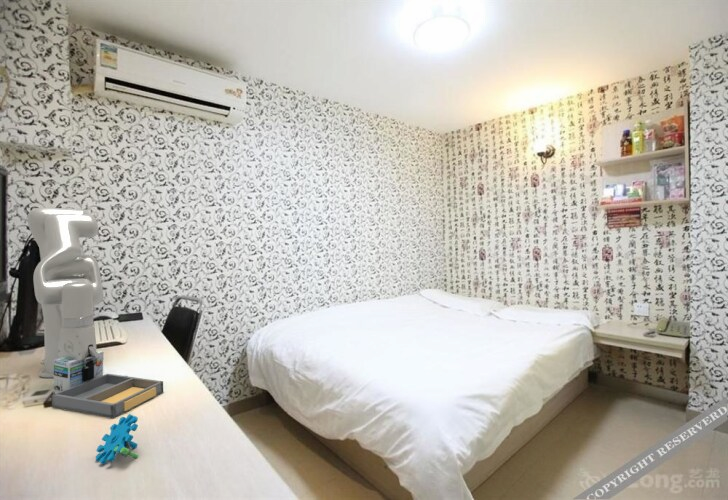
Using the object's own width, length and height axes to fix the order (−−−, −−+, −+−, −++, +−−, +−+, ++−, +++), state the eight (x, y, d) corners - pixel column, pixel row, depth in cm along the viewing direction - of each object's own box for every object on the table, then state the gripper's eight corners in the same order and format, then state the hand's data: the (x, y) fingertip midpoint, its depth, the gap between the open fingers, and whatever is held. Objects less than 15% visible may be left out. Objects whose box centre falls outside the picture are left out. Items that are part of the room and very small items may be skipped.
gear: (90, 444, 77) (128, 404, 81) (113, 453, 81) (148, 415, 84) (96, 475, 69) (138, 430, 73) (121, 484, 73) (160, 440, 76)
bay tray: (52, 407, 97) (51, 394, 97) (107, 384, 113) (107, 373, 113) (114, 418, 91) (114, 405, 91) (164, 392, 107) (164, 381, 107)
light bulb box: (69, 398, 103) (69, 362, 102) (52, 394, 104) (52, 359, 104) (104, 383, 113) (104, 350, 112) (87, 379, 115) (88, 347, 114)
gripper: (43, 322, 106) (45, 379, 107) (86, 327, 102) (87, 387, 102) (70, 316, 113) (71, 370, 114) (111, 321, 109) (112, 377, 110)
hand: (79, 377), depth 108 cm, fingers closed on light bulb box, 6 cm apart
